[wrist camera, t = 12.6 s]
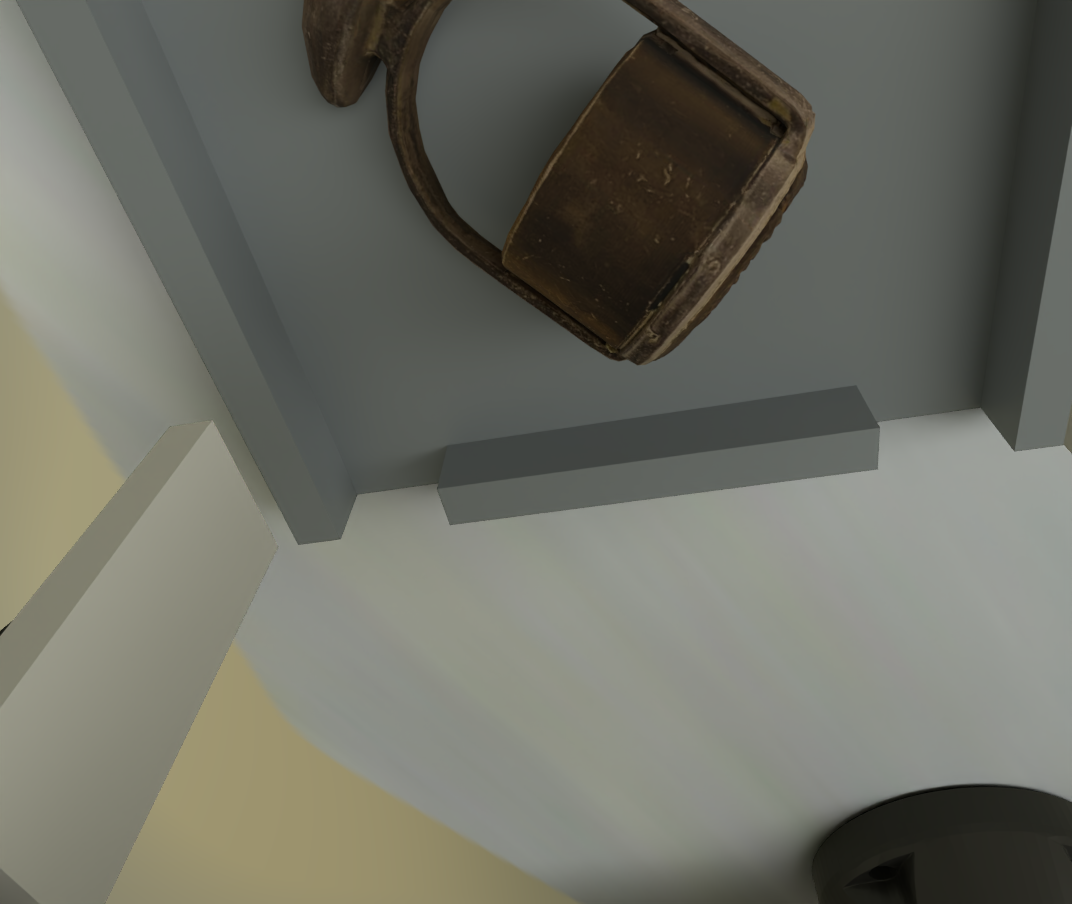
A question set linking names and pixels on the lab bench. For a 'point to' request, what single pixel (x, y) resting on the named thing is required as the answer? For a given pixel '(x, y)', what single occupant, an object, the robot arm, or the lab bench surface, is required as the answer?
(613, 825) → the lab bench surface
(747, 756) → the lab bench surface
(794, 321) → the dock
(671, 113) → the bucket with arched handle
